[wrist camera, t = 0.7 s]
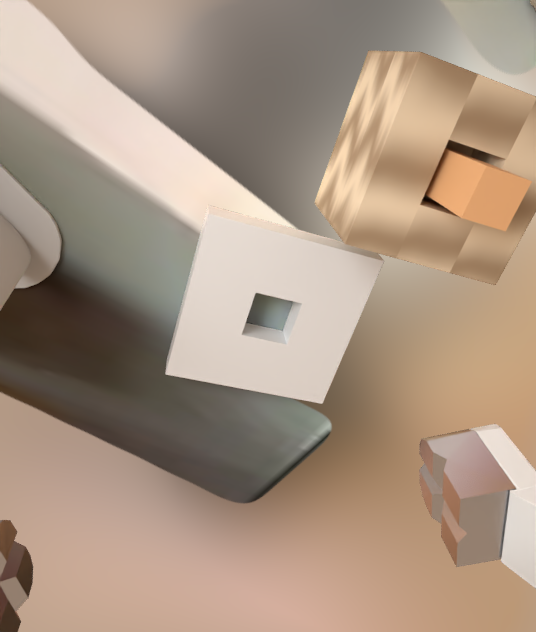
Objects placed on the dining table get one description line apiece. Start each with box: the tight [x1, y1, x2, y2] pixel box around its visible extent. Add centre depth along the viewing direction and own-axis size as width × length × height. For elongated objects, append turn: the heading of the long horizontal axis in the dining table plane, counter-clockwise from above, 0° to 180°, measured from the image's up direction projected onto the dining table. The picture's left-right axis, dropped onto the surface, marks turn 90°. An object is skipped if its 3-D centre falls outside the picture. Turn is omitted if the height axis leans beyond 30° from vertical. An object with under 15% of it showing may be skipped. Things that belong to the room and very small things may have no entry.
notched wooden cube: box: [315, 51, 536, 285], centre depth 44 cm, size 14×14×12 cm
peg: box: [425, 147, 532, 231], centre depth 39 cm, size 4×4×10 cm
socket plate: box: [166, 205, 384, 404], centre depth 54 cm, size 18×18×3 cm
